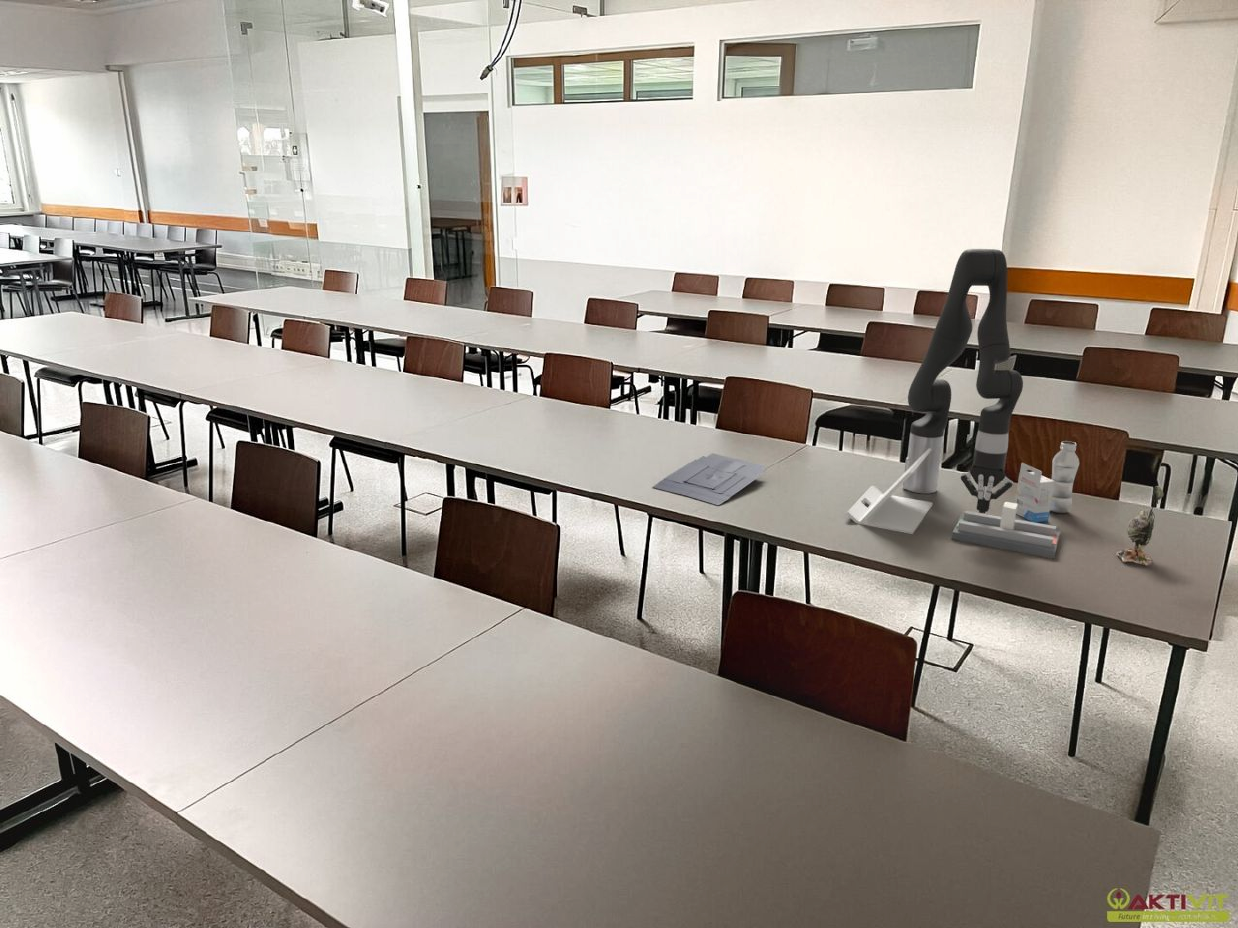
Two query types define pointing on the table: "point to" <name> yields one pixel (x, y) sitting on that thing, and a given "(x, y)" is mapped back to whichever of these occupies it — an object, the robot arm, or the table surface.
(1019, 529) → the switch panel
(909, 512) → the tablet stand
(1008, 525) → the white rectangular block
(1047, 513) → the ink box
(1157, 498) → the plant with pod
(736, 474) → the papers
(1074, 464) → the plastic bottle
